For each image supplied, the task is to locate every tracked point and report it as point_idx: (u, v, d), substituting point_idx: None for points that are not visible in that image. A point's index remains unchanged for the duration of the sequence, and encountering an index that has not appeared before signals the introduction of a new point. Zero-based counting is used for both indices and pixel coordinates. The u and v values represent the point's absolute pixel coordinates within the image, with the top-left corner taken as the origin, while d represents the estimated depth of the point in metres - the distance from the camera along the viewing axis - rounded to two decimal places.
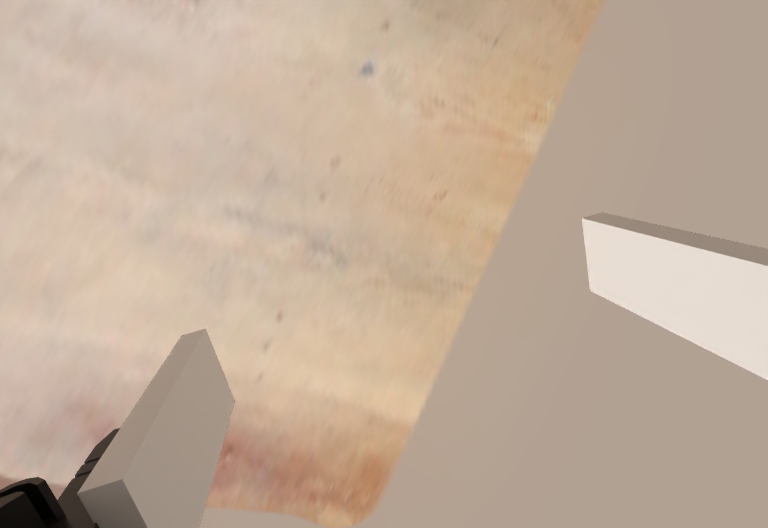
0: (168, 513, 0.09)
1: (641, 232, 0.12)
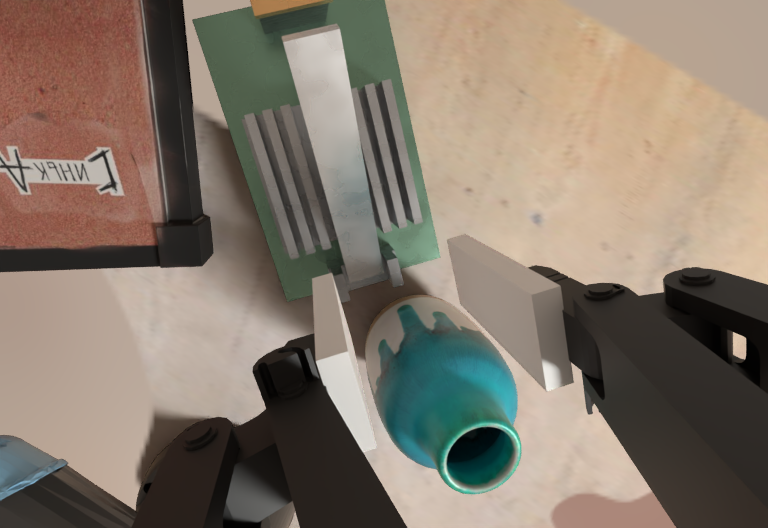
0: (361, 391, 0.11)
1: (474, 255, 0.14)
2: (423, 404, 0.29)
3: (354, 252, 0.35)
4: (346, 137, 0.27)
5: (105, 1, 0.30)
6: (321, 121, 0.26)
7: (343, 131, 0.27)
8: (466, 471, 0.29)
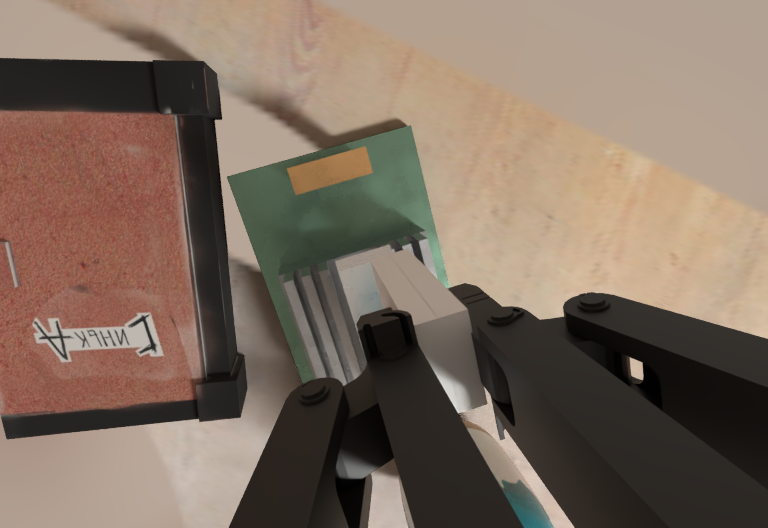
0: None
1: (405, 273, 0.14)
2: None
3: None
4: None
5: (147, 178, 0.30)
6: None
7: None
8: None
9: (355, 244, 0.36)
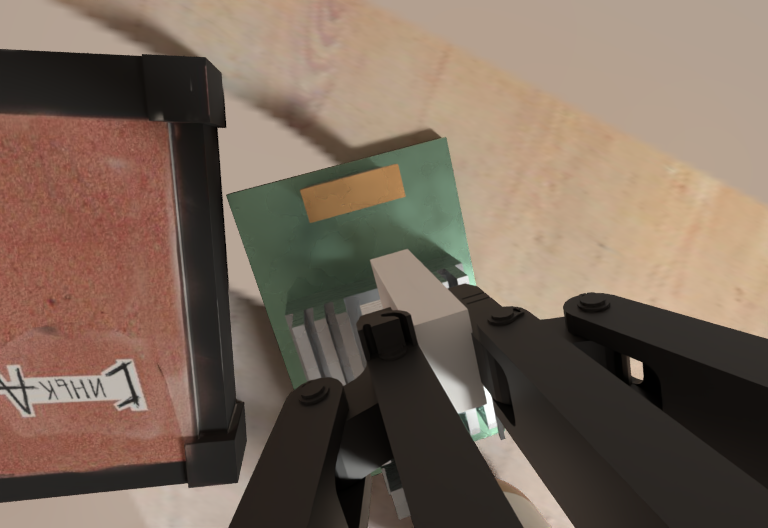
0: None
1: (405, 273, 0.14)
2: None
3: None
4: None
5: (132, 199, 0.24)
6: None
7: None
8: None
9: None
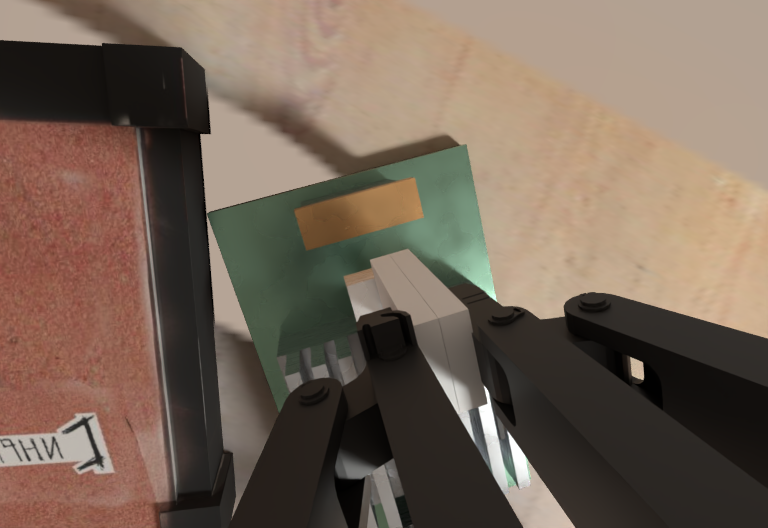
0: None
1: (406, 273, 0.14)
2: None
3: None
4: None
5: (92, 221, 0.20)
6: None
7: None
8: None
9: None
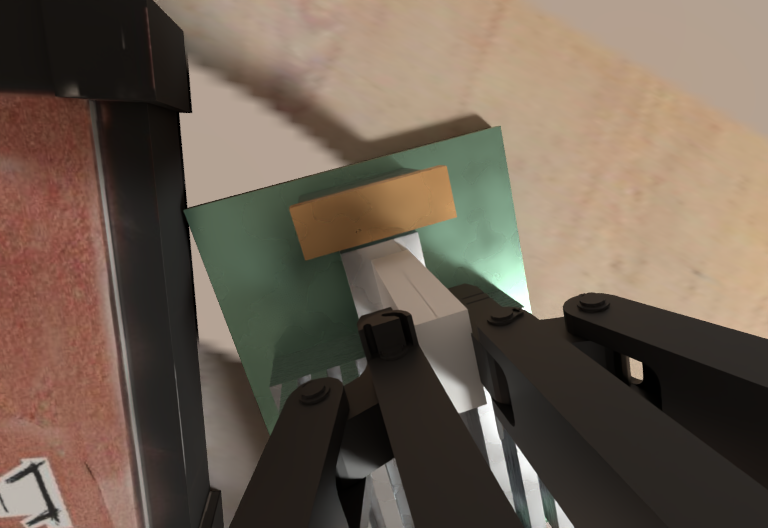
0: None
1: (405, 273, 0.14)
2: None
3: None
4: None
5: (35, 220, 0.16)
6: None
7: None
8: None
9: None
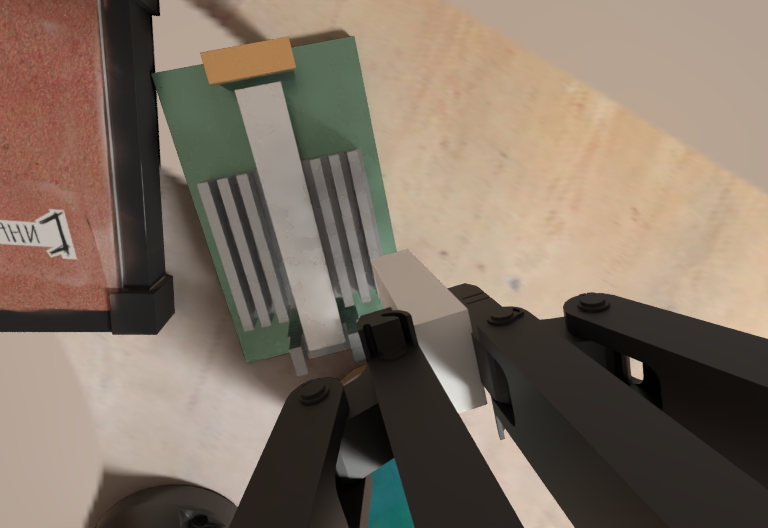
0: None
1: (405, 273, 0.14)
2: None
3: (310, 310, 0.34)
4: (292, 177, 0.31)
5: (64, 61, 0.28)
6: (269, 161, 0.30)
7: (289, 172, 0.31)
8: None
9: None
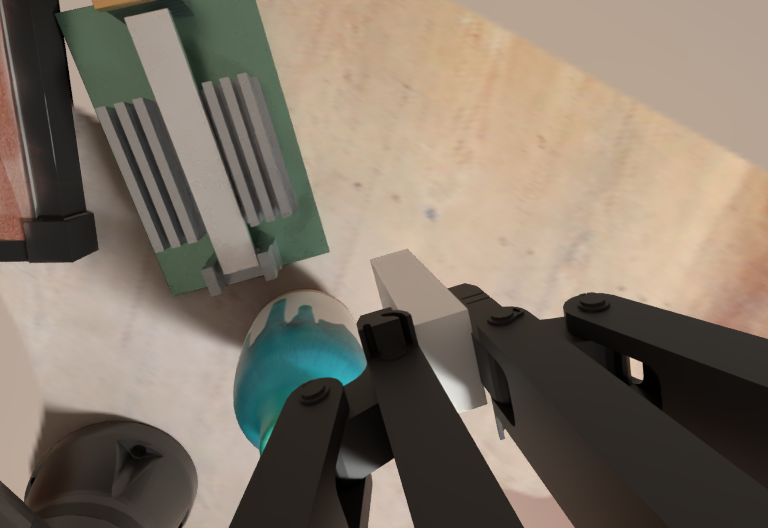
0: None
1: (405, 273, 0.14)
2: (262, 396, 0.29)
3: (221, 233, 0.36)
4: (189, 102, 0.33)
5: None
6: (165, 86, 0.32)
7: (185, 96, 0.33)
8: None
9: None
